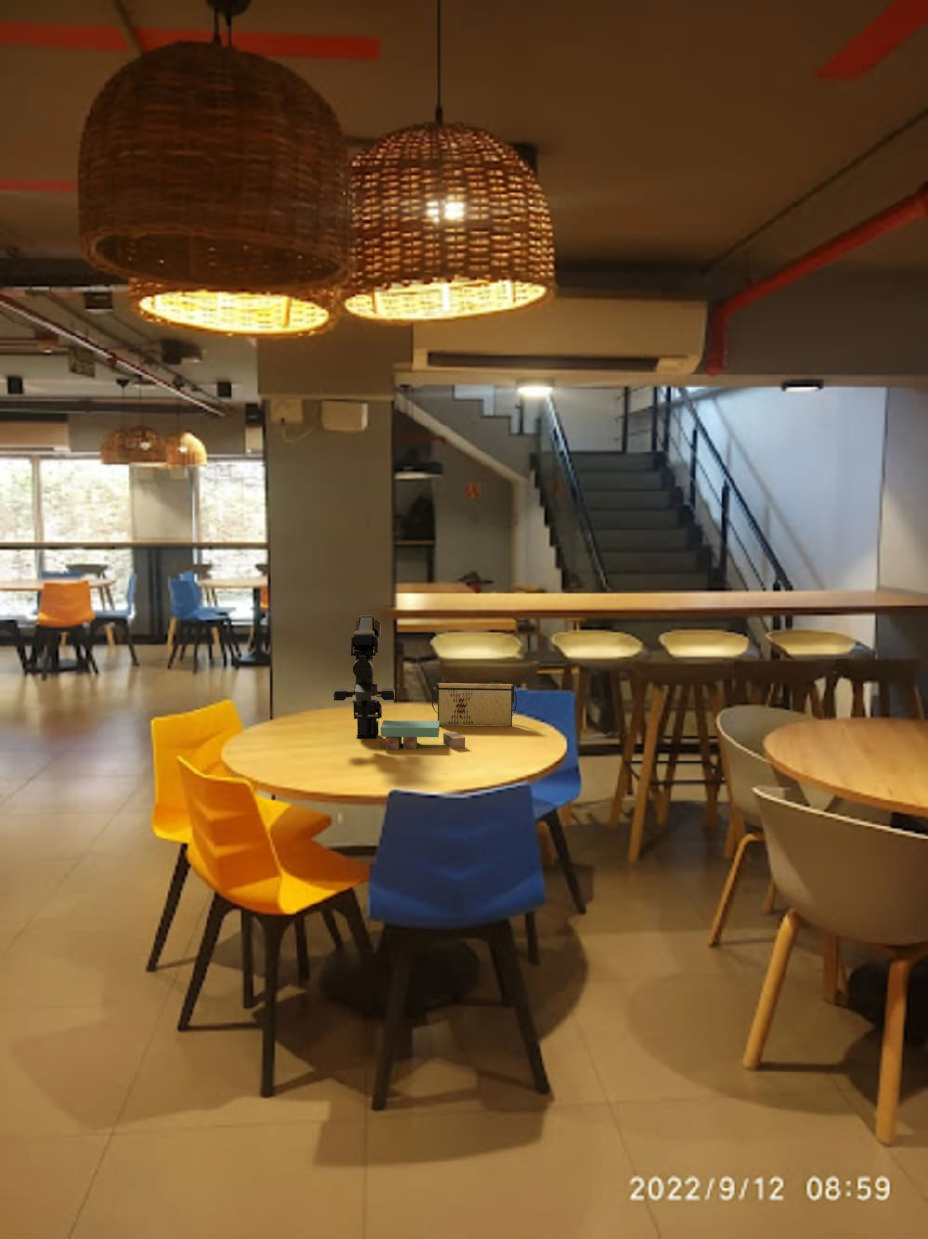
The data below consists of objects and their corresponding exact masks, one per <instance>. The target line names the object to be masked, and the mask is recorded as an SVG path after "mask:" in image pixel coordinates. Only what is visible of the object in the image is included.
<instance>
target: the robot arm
mask: <svg viewBox="0 0 928 1239" xmlns="http://www.w3.org/2000/svg"><path fill="white" fill-rule="evenodd" d="M354 624H355V627H354V629H355V630H354V633H353V635H351V640H350V641H351V644H350V657H354V663H353V666H352V673H353V675H355V676H354V679H355V681H354V682H355V683H354V690H348V689H349V688H347V687H344V688H343V687H342V688H340V687H338V688H336V689H335V690H334V692H333V701H338V702H339V701H340V702H341V701H345V700H346V699H347V698H351V699H352V703H353V720H356V724H357V730H356V732H357V734H356V738H357V739H376V738H378V736H379V733H380V730H379V729H380V728H379V724H380V723H379V722H380V721H379V720H380V719H381V718H382V717H383V712H382V711H383V709H382V708H383V706H382V704H381V702H380V700H379V699H378V698H381V699H382V700H383V701H394V700H395V695H396V694H395V693H396V692H395V689H394V687H382V689H381V690H378V688H379V687H378V684H377V683H374V674H375V673H374V672H375V671H374V668H375V666H374V665H375V664H374V661H375V660H374V659H375V658H374V657H377V654H378V653H379V642H380V641H379V638H381V635H382V633H381V631H382V630H381V622H380V621H379V620H377V619H376V618H375V615H367V614H366V615H359V617H358V620H357V621H355V623H354Z"/></svg>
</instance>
